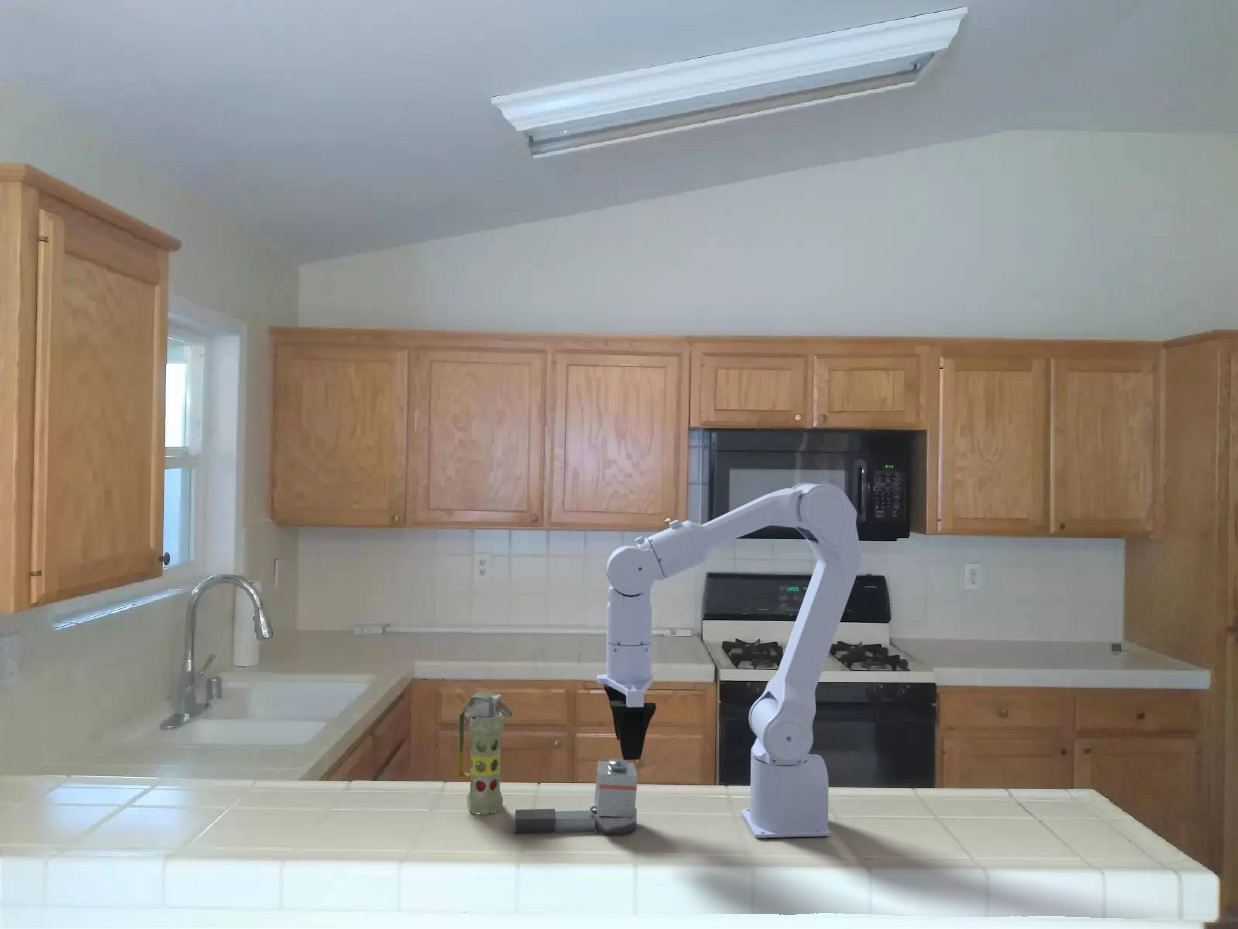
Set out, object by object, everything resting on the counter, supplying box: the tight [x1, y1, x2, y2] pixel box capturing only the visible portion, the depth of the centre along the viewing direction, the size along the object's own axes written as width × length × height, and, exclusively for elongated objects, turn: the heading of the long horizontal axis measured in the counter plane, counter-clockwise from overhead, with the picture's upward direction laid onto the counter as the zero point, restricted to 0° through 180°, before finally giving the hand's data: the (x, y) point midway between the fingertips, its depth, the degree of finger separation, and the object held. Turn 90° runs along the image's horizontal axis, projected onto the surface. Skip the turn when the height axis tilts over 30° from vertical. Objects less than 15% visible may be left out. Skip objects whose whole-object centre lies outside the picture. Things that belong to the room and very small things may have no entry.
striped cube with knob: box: [594, 758, 639, 817], centre depth 109 cm, size 5×5×6 cm
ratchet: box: [514, 805, 638, 837], centre depth 109 cm, size 15×6×4 cm, turn 96°
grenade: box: [457, 691, 514, 815], centre depth 115 cm, size 6×7×15 cm
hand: (628, 748), depth 109 cm, fingers open, 7 cm apart
